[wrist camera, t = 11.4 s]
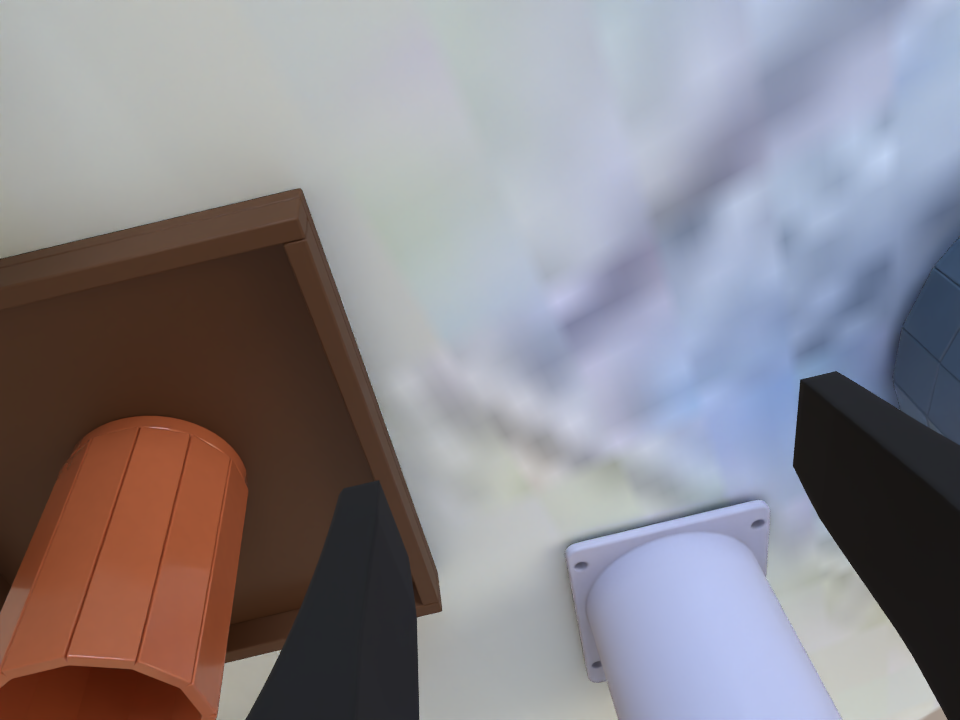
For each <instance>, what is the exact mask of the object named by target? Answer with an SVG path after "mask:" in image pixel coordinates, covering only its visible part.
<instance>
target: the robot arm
mask: <svg viewBox="0 0 960 720" xmlns="http://www.w3.org/2000/svg"><path fill="white" fill-rule="evenodd" d="M793 467H794V469H795V471H796V473H797V475H798V477H799V479H800V481H801V483H802V485H803V487H804V489H805V491H806V493H807V495H808V497H809V499H810V501H811V503H812V505H813V507H814V508H815V510H816V512H817V514H818V516H819V518H820V519H821V521H822V522H823V524H824V525H825V527H826V528H827V530H828V531H829V533H830V534H831V536H832V537H833V539H834V540H835V542H836V543H837V545H838V546H839V548H840V549H841V551H842V552H843V554H844V555H845V556H846V558H847V559H848V561H849V562H850V564H851V565H852V567H853V568H854V570H855V571H856V572H857V574H858V575H859V577H860V578H861V580H862V581H863V583H864V584H865V585H866V587H867V588H868V590H869V591H870V593H871V594H872V596H873V597H874V598H875V600H876V601H877V603H878V604H879V606H880V607H881V609H882V610H883V611H884V613H885V614H886V616H887V617H888V619H889V620H890V622H891V623H892V624H893V626H894V627H895V629H896V630H897V632H898V633H899V635H900V637H901V638H902V640H903V641H904V643H905V645H906V646H907V648H908V649H909V651H910V652H911V654H912V656H913V657H914V659H915V661H916V663H917V665H918V666H919V668H920V670H921V672H922V674H923V675H924V677H925V679H926V681H927V683H928V684H929V686H930V688H931V690H932V692H933V694H934V695H935V697H936V699H937V701H938V703H939V704H940V706H941V708H942V710H943V712H944V714H945V715H946V717H947V719H948V720H960V445H958V444H957V443H955V442H953V441H951V440H950V439H948V438H946V437H944V436H943V435H941V434H939V433H937V432H936V431H934V430H932V429H931V428H929V427H927V426H926V425H924V424H922V423H921V422H919V421H917V420H916V419H914V418H912V417H911V416H909V415H907V414H906V413H904V412H902V411H901V410H899V409H897V408H896V407H894V406H893V405H891V404H889V403H888V402H886V401H884V400H883V399H881V398H880V397H878V396H876V395H875V394H873V393H871V392H870V391H868V390H867V389H865V388H863V387H862V386H860V385H858V384H857V383H855V382H854V381H852V380H850V379H849V378H847V377H845V376H844V375H842V374H840V373H838V372H837V371H835V372H831V373H827V374H822V375H818V376H814V377H810V378H806V379H801V380H800V391H799V402H798V414H797V425H796V437H795V448H794V459H793ZM769 527H770V508H769V507H768V505H767V503H766V502H764V501H762V500H754V501H750V502H745V503H741V504H737V505H733V506H729V507H724V508H720V509H716V510H712V511H708V512H703V513H699V514H695V515H691V516H687V517H682V518H678V519H674V520H670V521H666V522H661V523H657V524H653V525H649V526H645V527H640V528H636V529H632V530H628V531H624V532H619V533H615V534H611V535H607V536H603V537H598V538H594V539H590V540H586V541H582V542H578V543H574V544H572V545H570V546H569V547H568V548H567V549H566V551H565V558H566V563H567V569H568V574H569V579H570V585H571V590H572V595H573V601H574V606H575V611H576V617H577V622H578V627H579V633H580V638H581V643H582V649H583V654H584V659H585V665H586V670H587V674H588V678H589V680H590V681H592V682H596V683H598V682H603V681H607V683H608V687H609V690H610V693H611V697H612V700H613V703H614V707H615V710H616V714H617V717H618V720H843V719H842V717H841V716H840V714H839V712H838V710H837V708H836V706H835V704H834V703H833V701H832V699H831V697H830V695H829V693H828V691H827V690H826V688H825V686H824V684H823V682H822V680H821V679H820V677H819V675H818V673H817V671H816V669H815V667H814V666H813V664H812V662H811V660H810V658H809V656H808V654H807V653H806V651H805V649H804V647H803V645H802V643H801V641H800V640H799V638H798V636H797V634H796V632H795V630H794V629H793V627H792V625H791V623H790V621H789V619H788V617H787V616H786V614H785V612H784V610H783V608H782V606H781V604H780V603H779V601H778V599H777V597H776V595H775V593H774V592H773V590H772V588H771V586H770V584H769V582H768V580H767V579H766V573H767V558H768V543H769ZM246 720H419V688H418V646H417V614H416V606H415V598H414V591H413V583H412V576H411V569H410V562H409V557H408V554H407V551H406V549H405V546H404V544H403V541H402V538H401V536H400V533H399V530H398V528H397V525H396V523H395V520H394V517H393V515H392V512H391V510H390V507H389V504H388V502H387V499H386V497H385V494H384V491H383V489H382V486H381V484H380V481H379V480H377V481H373V482H369V483H364V484H360V485H356V486H352V487H347V488H344V489H343V490H342V491H341V493H340V494H339V496H338V500H337V504H336V508H335V511H334V515H333V518H332V521H331V525H330V528H329V531H328V534H327V537H326V540H325V543H324V546H323V549H322V552H321V555H320V558H319V561H318V563H317V566H316V569H315V571H314V574H313V576H312V579H311V582H310V584H309V587H308V590H307V592H306V595H305V597H304V600H303V602H302V605H301V607H300V610H299V612H298V614H297V617H296V619H295V621H294V623H293V626H292V628H291V630H290V632H289V634H288V637H287V639H286V641H285V643H284V646H283V648H282V650H281V652H280V655H279V657H278V659H277V661H276V663H275V665H274V667H273V669H272V671H271V673H270V675H269V677H268V679H267V681H266V683H265V685H264V687H263V689H262V690H261V692H260V694H259V696H258V698H257V700H256V702H255V703H254V705H253V707H252V709H251V711H250V713H249V714H248V716H247V718H246Z"/></svg>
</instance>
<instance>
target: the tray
mask: <svg viewBox="0 0 960 720" xmlns="http://www.w3.org/2000/svg"><path fill="white" fill-rule="evenodd" d="M144 415H151V416H166V417H173V418H177V419H182V420H185V421H189V422H192V423H195V424H197V425H200V426H202V427H204V428H206V429H208V430H210V431H212V432H214V433H215V434H217V435H218V436H220V437H221V438H222V439H224V440H225V441H226V442H227V443H228V444H229V445H231V447H232V448H233V449H234V450H235V451H236V452H237V454H238V455H239V457H240V458H241V460H242V462H243V464H244V467H245V469H246V473H247V477H248V499H247V506H246V513H245V520H244V527H243V534H242V542H241V549H240V556H239V563H238V570H237V578H236V585H235V592H234V599H233V606H232V613H231V621H230V628H229V635H228V642H227V649H226V656H225V663H227V662H232V661H236V660H240V659H244V658H248V657H253V656H257V655H261V654H265V653H269V652H274V651H278V650H282V648H283V646H284V643H285V641H286V639H287V637H288V634H289V632H290V630H291V628H292V626H293V623H294V621H295V619H296V617H297V614H298V612H299V610H300V607H301V605H302V602H303V600H304V597H305V595H306V592H307V590H308V587H309V584H310V582H311V579H312V576H313V574H314V571H315V569H316V566H317V563H318V561H319V558H320V555H321V552H322V549H323V546H324V543H325V540H326V537H327V534H328V531H329V528H330V525H331V521H332V518H333V515H334V511H335V508H336V504H337V500H338V496H339V494H340V493H341V491H342V490H343V489H344V488H347V487H352V486H356V485H360V484H364V483H369V482H373V481H377V480H379V481H380V484H381V486H382V489H383V491H384V494H385V497H386V499H387V502H388V504H389V507H390V510H391V512H392V515H393V517H394V520H395V523H396V525H397V528H398V530H399V533H400V536H401V538H402V541H403V544H404V546H405V549H406V551H407V554H408V557H409V562H410V569H411V576H412V583H413V591H414V598H415V606H416V614H417V617H420V616H425V615H429V614H433V613H437V612H441V611H442V604H441V596H440V588H439V579H438V572H437V569H436V566H435V564H434V561H433V558H432V555H431V552H430V550H429V547H428V544H427V541H426V538H425V535H424V533H423V530H422V527H421V524H420V521H419V519H418V516H417V513H416V510H415V507H414V504H413V502H412V499H411V496H410V493H409V490H408V488H407V485H406V482H405V479H404V476H403V473H402V471H401V468H400V465H399V462H398V459H397V457H396V454H395V451H394V448H393V445H392V442H391V440H390V437H389V434H388V431H387V428H386V425H385V423H384V420H383V417H382V414H381V411H380V409H379V406H378V403H377V400H376V397H375V394H374V392H373V389H372V386H371V383H370V380H369V378H368V375H367V372H366V369H365V366H364V363H363V361H362V358H361V355H360V352H359V349H358V347H357V344H356V341H355V338H354V335H353V332H352V330H351V327H350V324H349V321H348V318H347V316H346V313H345V310H344V307H343V304H342V301H341V299H340V296H339V293H338V290H337V287H336V285H335V282H334V279H333V276H332V273H331V270H330V268H329V265H328V262H327V259H326V256H325V253H324V251H323V248H322V245H321V242H320V239H319V237H318V234H317V231H316V228H315V225H314V222H313V220H312V217H311V214H310V211H309V208H308V206H307V203H306V200H305V197H304V194H303V191H302V190H301V189H294V190H290V191H286V192H282V193H278V194H273V195H269V196H265V197H261V198H257V199H252V200H248V201H244V202H240V203H235V204H231V205H227V206H223V207H219V208H214V209H210V210H206V211H202V212H197V213H193V214H189V215H185V216H181V217H176V218H172V219H168V220H164V221H160V222H155V223H151V224H147V225H143V226H138V227H134V228H130V229H126V230H122V231H117V232H113V233H109V234H105V235H101V236H96V237H92V238H88V239H84V240H79V241H75V242H71V243H67V244H63V245H58V246H54V247H50V248H46V249H41V250H37V251H33V252H29V253H25V254H20V255H16V256H12V257H8V258H4V259H0V612H1V610H2V607H3V605H4V603H5V600H6V598H7V596H8V593H9V591H10V589H11V586H12V584H13V581H14V579H15V577H16V574H17V572H18V570H19V567H20V565H21V563H22V560H23V558H24V555H25V553H26V551H27V548H28V546H29V544H30V541H31V539H32V537H33V534H34V532H35V530H36V527H37V525H38V522H39V520H40V518H41V515H42V513H43V511H44V508H45V506H46V504H47V501H48V499H49V496H50V494H51V492H52V489H53V487H54V485H55V482H56V480H57V478H58V475H59V473H60V470H61V468H62V466H63V464H64V463H65V462H66V461H67V460H68V459H69V457H70V454H71V452H72V451H73V449H74V447H75V446H76V445H77V443H78V442H79V441H80V440H81V439H82V438H83V437H84V436H86V435H87V434H88V433H89V432H91V431H92V430H94V429H96V428H98V427H99V426H101V425H104V424H106V423H108V422H111V421H114V420H118V419H121V418H127V417H132V416H144Z"/></svg>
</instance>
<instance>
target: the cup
mask: <svg viewBox="0 0 960 720" xmlns="http://www.w3.org/2000/svg"><path fill="white" fill-rule="evenodd" d="M247 499H248V477H247V473H246V469H245V467H244V464H243V462H242V460H241V458H240V457H239V455H238V454H237V452H236V451H235V450H234V449H233V448H232V447H231V445H229V444H228V443H227V442H226V441H225V440H224V439H222V438H221V437H220V436H218V435H217V434H215V433H214V432H212V431H210V430H208V429H206V428H204V427H202V426H200V425H197V424H195V423H192V422H189V421H185V420H182V419H177V418H173V417H166V416H151V415H144V416H132V417H127V418H121V419H118V420H114V421H111V422H108V423H106V424H104V425H101V426H99V427H98V428H96V429H94V430H92V431H91V432H89V433H88V434H87V435H86V436H84V437H83V438H82V439H81V440H80V441H79V442H78V443H77V445H76V446H75V447H74V449H73V451H72V452H71V454H70V457H69V459H68V460H67V461H66V462H65V463H64V464H63V466H62V468H61V470H60V473H59V475H58V478H57V480H56V482H55V485H54V487H53V489H52V492H51V494H50V496H49V499H48V501H47V504H46V506H45V508H44V511H43V513H42V515H41V518H40V520H39V522H38V525H37V527H36V530H35V532H34V534H33V537H32V539H31V541H30V544H29V546H28V548H27V551H26V553H25V555H24V558H23V560H22V563H21V565H20V567H19V570H18V572H17V574H16V577H15V579H14V581H13V584H12V586H11V589H10V591H9V593H8V596H7V598H6V600H5V603H4V605H3V607H2V610H1V612H0V720H216V718H217V714H218V707H219V699H220V692H221V685H222V678H223V671H224V664H225V656H226V649H227V642H228V635H229V628H230V621H231V613H232V606H233V599H234V592H235V585H236V578H237V570H238V563H239V556H240V549H241V542H242V534H243V527H244V520H245V513H246V506H247Z"/></svg>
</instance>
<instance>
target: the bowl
mask: <svg viewBox="0 0 960 720" xmlns="http://www.w3.org/2000/svg"><path fill="white" fill-rule="evenodd" d="M893 384H894V388H895V392H896V396H897V399H898V403H899V407H900V410H901V411H902V412H904V413H906V414H907V415H909V416H911V417H912V418H914V419H916V420H917V421H919V422H921V423H922V424H924V425H926V426H927V427H929V428H931V429H932V430H934V431H936V432H937V433H939V434H941V435H943V436H944V437H946V438H948V439H950V440H951V441H953V442H955V443H957V444H958V445H960V236H959V238H958V239H957V240H956V241H955V242H954V243H953V245H952V246H951V247H950V248H949V249H948V250H947V252H946V253H945V254H944V255H943V256H942V257H941V258H940V260H939V261H938V262H937V263H936V264H935V268H933V269H932V271H931V273H930V274H929V276H928V278H927V280H926V282H925V284H924V286H923V288H922V290H921V292H920V293H919V295H918V297H917V299H916V301H915V303H914V305H913V307H912V309H911V311H910V313H909V314H908V316H907V318H906V320H905V322H904V324H903V328H902V329H901V335H900V340H899V346H898V351H897V357H896V362H895V367H894V373H893Z"/></svg>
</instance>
